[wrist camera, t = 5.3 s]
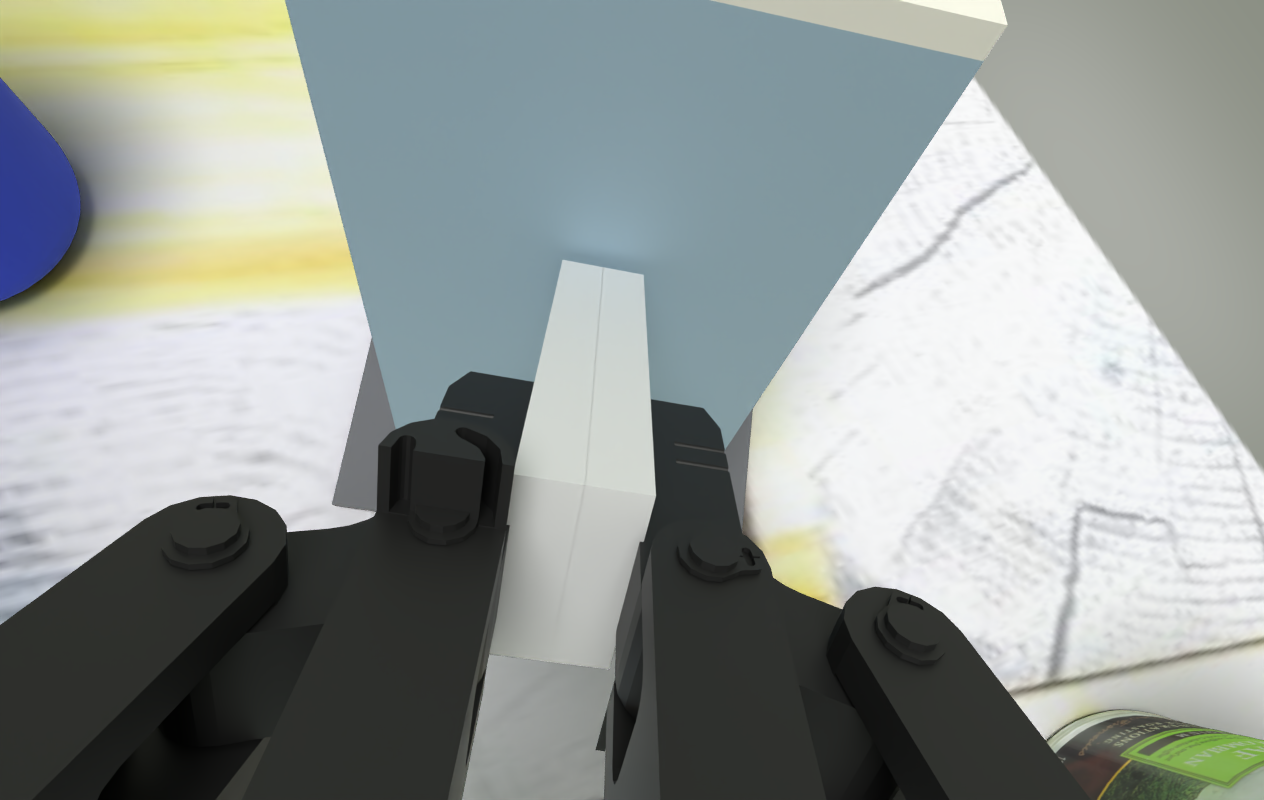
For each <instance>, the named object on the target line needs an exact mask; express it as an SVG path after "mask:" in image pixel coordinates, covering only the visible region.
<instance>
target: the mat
mask: <svg viewBox="0 0 1264 800" xmlns="http://www.w3.org/2000/svg"><path fill="white" fill-rule="evenodd" d="M752 411H753V409H752V410H751V412H750V413H749V415H748V416H747V418H746V419H745V421H744V422H743V424H742V425H741V427H740V428H739V430H738V431H737V433H736V434H735V436H734V437H733V439H732V440H731V442H730V443H729V445H728V446H727V448H726V449H725V451H724V454H726V457H727V462H728V467H729V468H728V472H730V477H731V481H732V486H733V491H734V496H735V501H736V505H737V510H738V515H739V520H740V525H741V529H742V525H743V513H744V502H745V491H746V479H747V468H748V457H749V445H750V434H751V423H752ZM394 430H396V428H395V424H394V420H393V416H392V413H391V409H390V405H389V401H388V397H387V393H386V389H385V385H384V382H383V378H382V374H381V370H380V366H379V362H378V358H377V354H376V351H375V347H374V343H373V339H371V344H370V348H369V352H368V356H367V360H366V364H365V369H364V373H363V377H362V381H361V385H360V389H359V394H358V398H357V402H356V406H355V410H354V414H353V419H352V423H351V427H350V431H349V435H348V439H347V444H346V448H345V452H344V456H343V460H342V464H341V469H340V473H339V477H338V481H337V485H336V489H335V494H334V498H333V502H332V504H333V505H335V506H341V507H348V508H356V509H363V510H370V511H377V475H378V445H379V444H380V443H381V442H382V441H383V440H384V438H385V437H386V436H387V435H388V434H389V433H390V432H391V431H394Z"/></svg>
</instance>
